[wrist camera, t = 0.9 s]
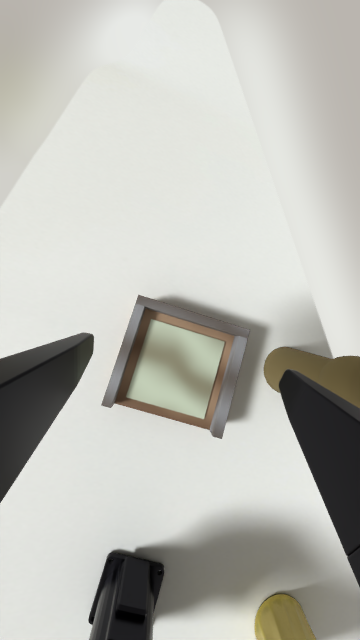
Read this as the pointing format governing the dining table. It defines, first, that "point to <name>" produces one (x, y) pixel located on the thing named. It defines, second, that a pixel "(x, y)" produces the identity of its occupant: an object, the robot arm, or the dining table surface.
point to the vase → (282, 620)
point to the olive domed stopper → (317, 371)
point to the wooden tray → (178, 365)
